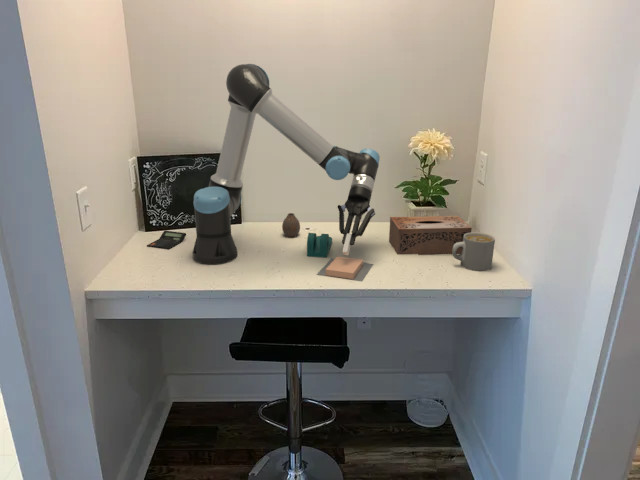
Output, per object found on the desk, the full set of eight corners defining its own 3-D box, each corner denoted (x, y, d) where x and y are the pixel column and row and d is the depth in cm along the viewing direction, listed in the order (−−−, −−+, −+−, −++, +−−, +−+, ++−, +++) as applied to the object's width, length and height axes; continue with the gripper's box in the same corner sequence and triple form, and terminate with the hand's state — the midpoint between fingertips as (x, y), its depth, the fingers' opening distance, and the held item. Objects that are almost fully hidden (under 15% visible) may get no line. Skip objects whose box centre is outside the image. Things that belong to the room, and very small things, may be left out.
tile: (337, 262, 170) (325, 275, 159) (337, 256, 169) (325, 269, 158) (363, 265, 167) (353, 279, 156) (363, 259, 166) (353, 273, 155)
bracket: (326, 259, 174) (326, 237, 171) (307, 257, 175) (306, 236, 172) (333, 241, 191) (333, 221, 188) (315, 240, 192) (315, 221, 189)
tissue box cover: (397, 256, 177) (398, 229, 174) (388, 242, 191) (390, 216, 187) (468, 254, 179) (471, 227, 176) (455, 240, 193) (457, 215, 189)
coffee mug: (488, 260, 173) (491, 233, 170) (493, 271, 164) (497, 243, 160) (448, 258, 175) (451, 231, 171) (451, 269, 165) (454, 240, 162)
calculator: (147, 247, 184) (146, 239, 183) (165, 237, 194) (165, 230, 193) (169, 250, 181) (168, 242, 180) (186, 240, 192) (186, 232, 191)
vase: (280, 233, 199) (280, 212, 196) (297, 232, 201) (297, 210, 198) (284, 239, 192) (284, 217, 190) (302, 237, 194) (302, 215, 192)
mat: (316, 275, 160) (316, 274, 160) (331, 259, 173) (331, 258, 173) (362, 282, 155) (362, 281, 155) (373, 265, 168) (373, 264, 168)
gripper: (340, 183, 170) (323, 245, 160) (378, 186, 165) (363, 250, 156) (344, 194, 176) (328, 255, 167) (381, 198, 172) (366, 260, 163)
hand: (345, 253), depth 162 cm, fingers closed
